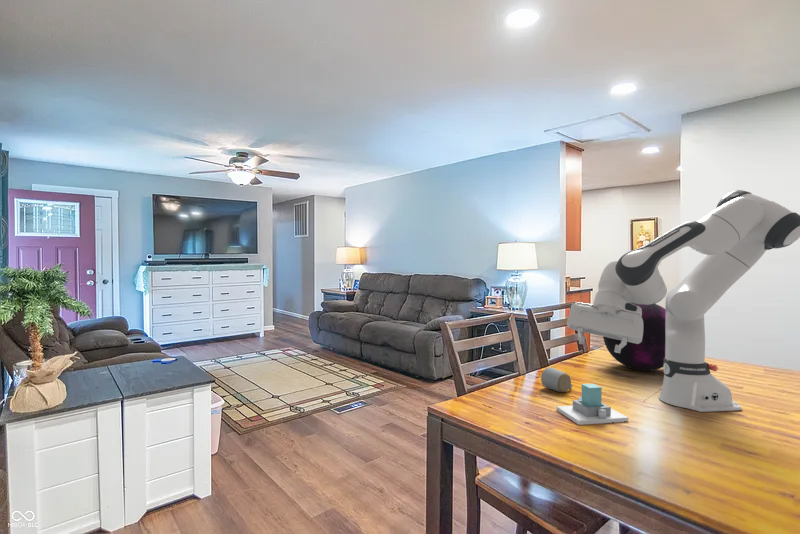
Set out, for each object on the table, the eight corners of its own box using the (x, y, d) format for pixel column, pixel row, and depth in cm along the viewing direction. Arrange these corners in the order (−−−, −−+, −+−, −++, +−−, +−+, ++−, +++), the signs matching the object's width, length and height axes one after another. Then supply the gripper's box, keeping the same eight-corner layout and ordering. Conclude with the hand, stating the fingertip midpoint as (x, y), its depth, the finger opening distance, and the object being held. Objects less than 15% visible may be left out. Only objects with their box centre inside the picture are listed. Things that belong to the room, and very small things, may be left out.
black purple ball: (699, 379, 167) (700, 304, 166) (624, 378, 167) (625, 304, 167) (654, 361, 197) (655, 298, 196) (590, 360, 197) (591, 297, 197)
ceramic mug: (558, 394, 147) (559, 373, 147) (540, 388, 154) (540, 368, 154) (578, 390, 152) (578, 369, 152) (559, 384, 160) (559, 364, 159)
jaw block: (593, 409, 129) (593, 383, 129) (601, 413, 126) (601, 387, 125) (581, 409, 129) (581, 384, 129) (589, 414, 125) (589, 388, 125)
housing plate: (601, 407, 135) (601, 395, 135) (628, 421, 122) (629, 409, 122) (556, 409, 132) (556, 398, 132) (579, 425, 120) (579, 412, 120)
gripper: (572, 295, 129) (560, 333, 123) (647, 309, 118) (639, 351, 112) (573, 306, 133) (562, 343, 127) (646, 320, 122) (638, 362, 116)
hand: (598, 347), depth 119 cm, fingers open, 8 cm apart
